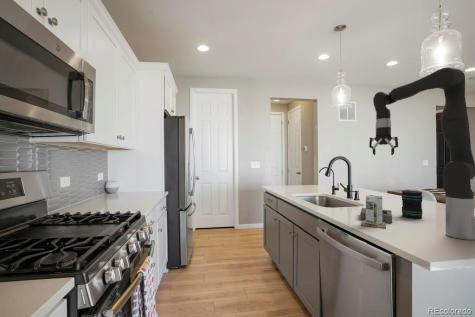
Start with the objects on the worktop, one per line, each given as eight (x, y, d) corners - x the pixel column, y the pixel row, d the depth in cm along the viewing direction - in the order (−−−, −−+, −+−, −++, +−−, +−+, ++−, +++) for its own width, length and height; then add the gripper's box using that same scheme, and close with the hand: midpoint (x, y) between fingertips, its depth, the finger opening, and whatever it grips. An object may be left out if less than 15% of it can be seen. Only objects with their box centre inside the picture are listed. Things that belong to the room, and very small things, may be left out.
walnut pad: (385, 223, 127) (385, 222, 127) (386, 228, 117) (386, 227, 117) (362, 220, 132) (362, 219, 132) (360, 225, 123) (360, 224, 123)
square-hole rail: (391, 217, 140) (390, 210, 140) (392, 223, 127) (392, 215, 127) (362, 214, 147) (362, 207, 147) (360, 219, 135) (360, 212, 135)
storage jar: (415, 215, 144) (415, 190, 144) (426, 219, 135) (426, 192, 135) (398, 214, 145) (397, 190, 145) (407, 219, 136) (407, 192, 136)
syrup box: (365, 222, 126) (365, 195, 126) (372, 221, 129) (372, 194, 129) (375, 225, 121) (375, 196, 121) (383, 224, 123) (382, 196, 123)
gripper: (369, 127, 139) (369, 155, 139) (398, 125, 131) (398, 155, 131) (369, 128, 145) (369, 155, 145) (397, 127, 138) (397, 155, 138)
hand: (383, 155), depth 138 cm, fingers open, 8 cm apart
